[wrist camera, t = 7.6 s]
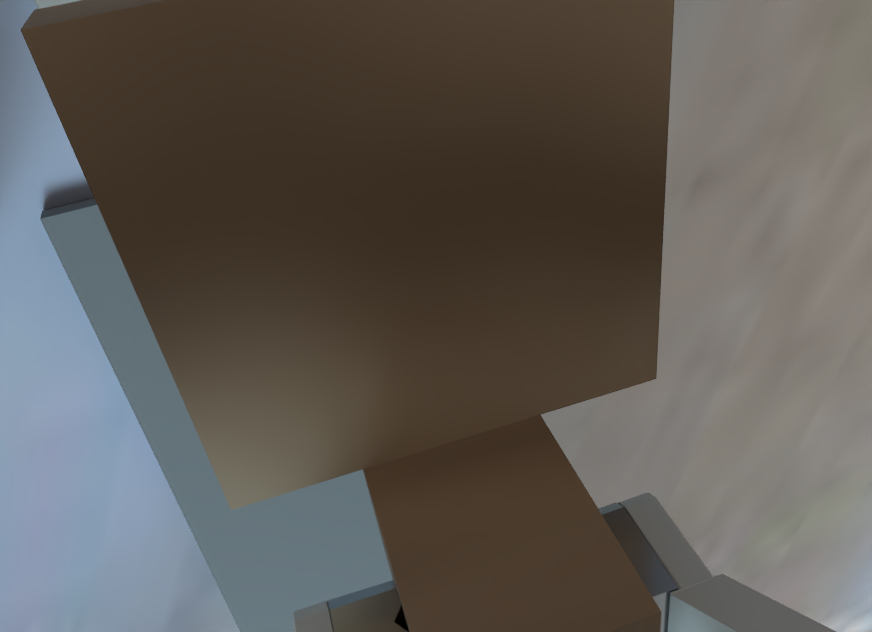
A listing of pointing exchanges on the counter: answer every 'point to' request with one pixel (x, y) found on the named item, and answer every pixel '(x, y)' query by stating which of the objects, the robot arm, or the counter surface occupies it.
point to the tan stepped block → (393, 260)
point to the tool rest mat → (192, 471)
